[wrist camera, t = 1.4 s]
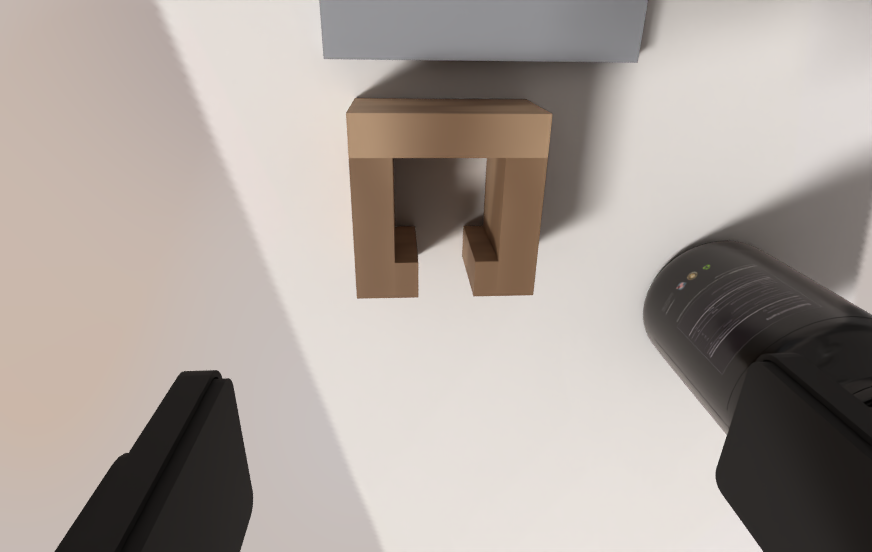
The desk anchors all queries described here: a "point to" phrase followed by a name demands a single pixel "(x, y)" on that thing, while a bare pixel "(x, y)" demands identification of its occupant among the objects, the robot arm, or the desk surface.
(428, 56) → the post base
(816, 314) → the supplement bottle
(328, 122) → the desk surface
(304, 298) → the desk surface
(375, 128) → the wooden arch block
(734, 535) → the desk surface
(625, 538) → the desk surface
